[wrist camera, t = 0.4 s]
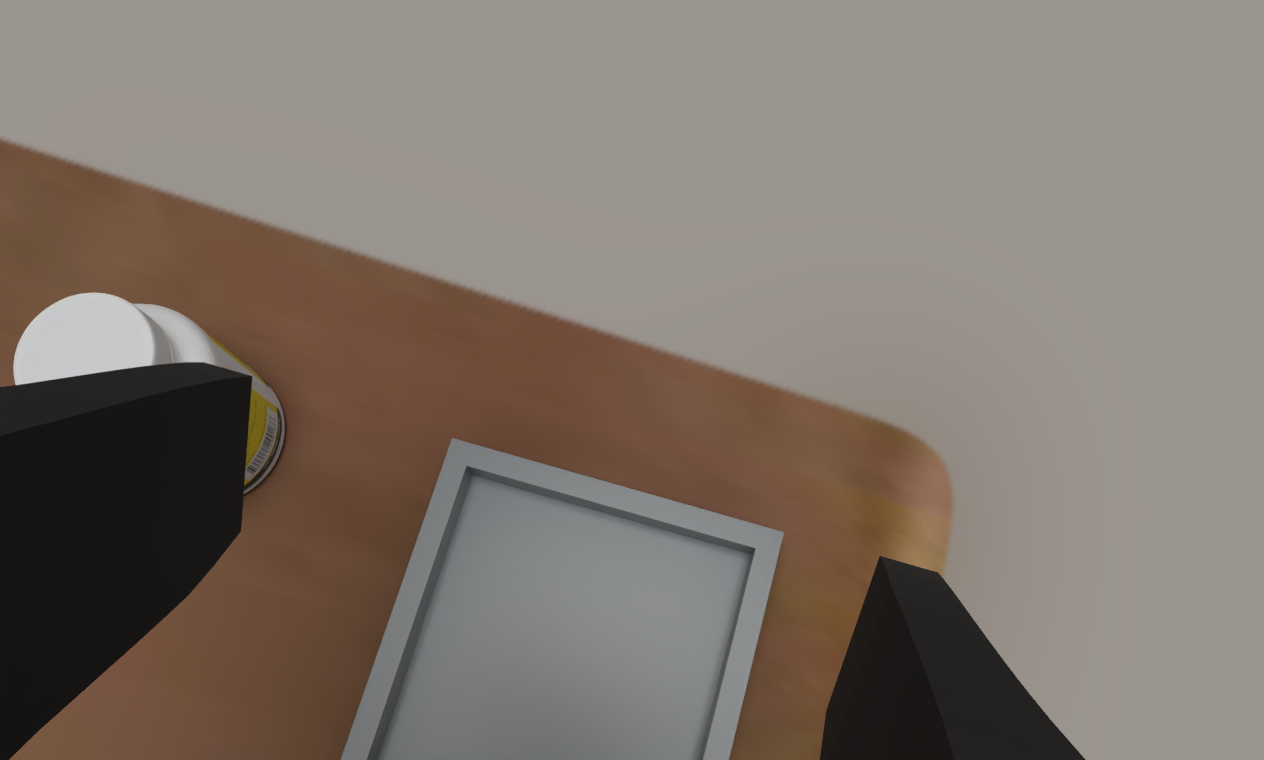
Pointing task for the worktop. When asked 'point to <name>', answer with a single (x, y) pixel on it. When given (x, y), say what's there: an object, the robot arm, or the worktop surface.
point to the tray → (565, 622)
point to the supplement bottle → (141, 358)
